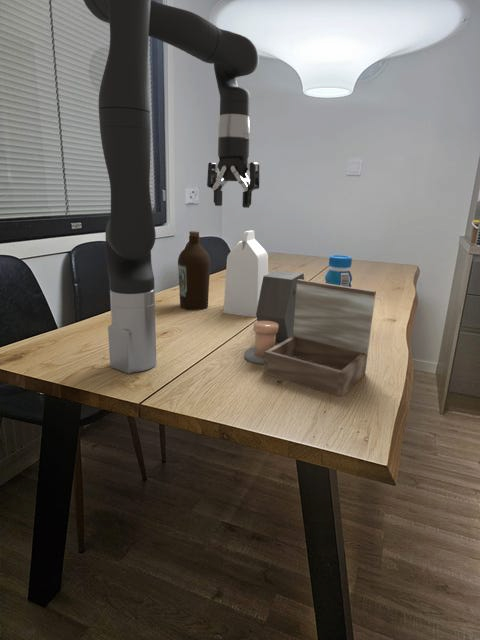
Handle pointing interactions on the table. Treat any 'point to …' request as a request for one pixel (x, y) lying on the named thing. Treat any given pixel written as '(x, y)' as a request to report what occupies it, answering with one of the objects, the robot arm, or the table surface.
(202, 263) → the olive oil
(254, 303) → the milk
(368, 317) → the hinged wooden box
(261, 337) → the round cabinet knob
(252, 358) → the saucer
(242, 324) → the table surface
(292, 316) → the planter
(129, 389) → the table surface
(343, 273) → the beverage bottle
